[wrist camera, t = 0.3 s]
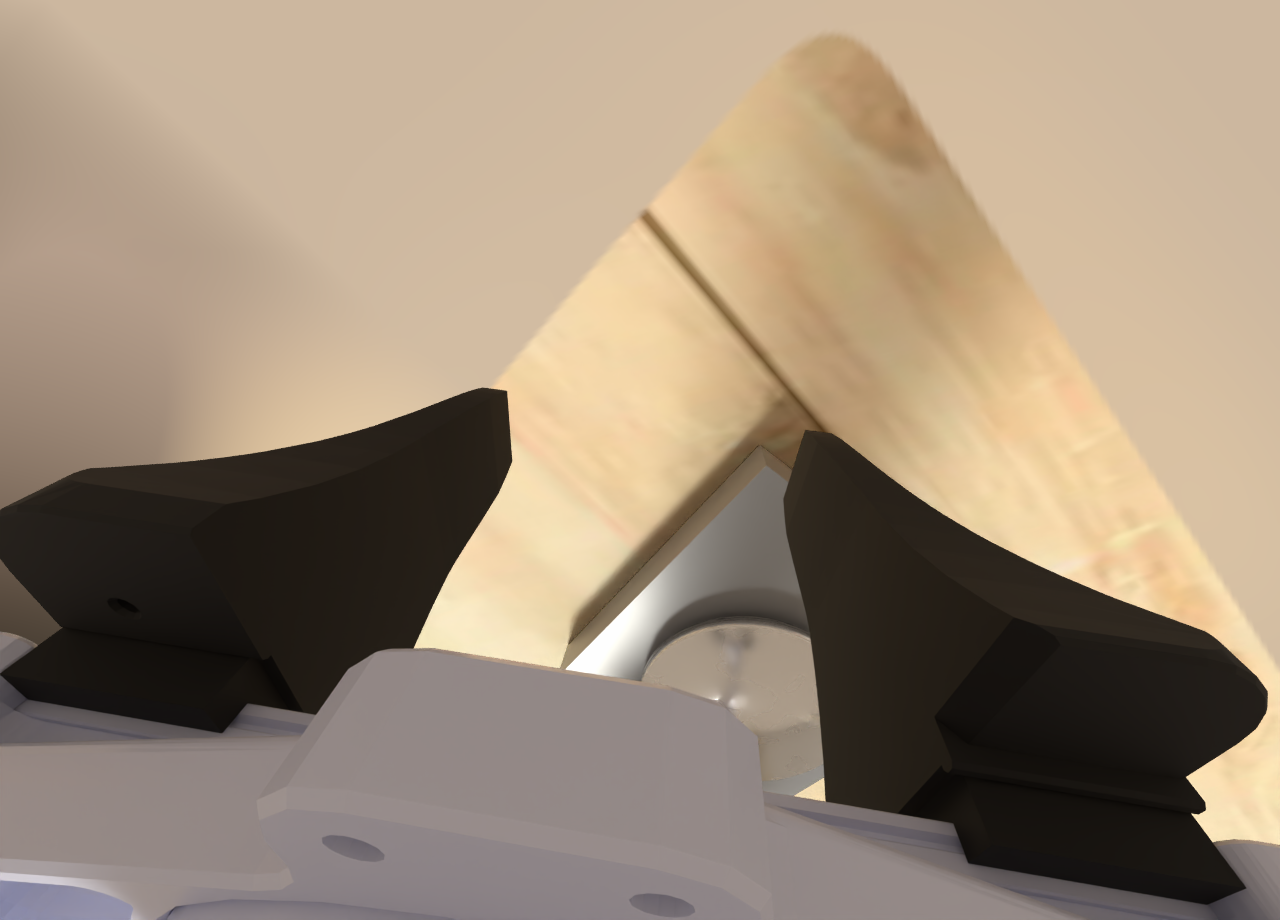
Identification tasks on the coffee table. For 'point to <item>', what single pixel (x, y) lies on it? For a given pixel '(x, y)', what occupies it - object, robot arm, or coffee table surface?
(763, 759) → the pan
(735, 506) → the scale base
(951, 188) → the coffee table surface
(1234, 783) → the coffee table surface
